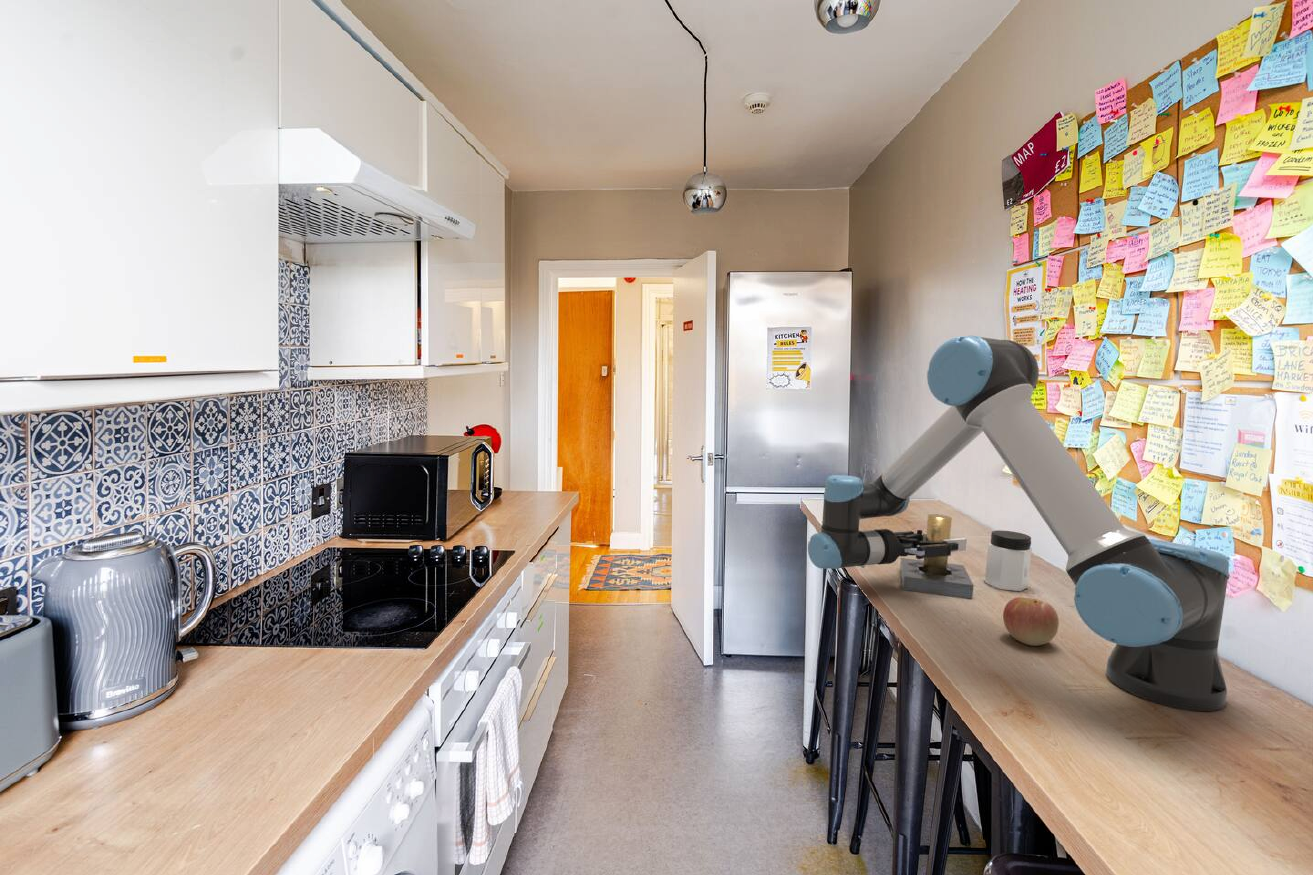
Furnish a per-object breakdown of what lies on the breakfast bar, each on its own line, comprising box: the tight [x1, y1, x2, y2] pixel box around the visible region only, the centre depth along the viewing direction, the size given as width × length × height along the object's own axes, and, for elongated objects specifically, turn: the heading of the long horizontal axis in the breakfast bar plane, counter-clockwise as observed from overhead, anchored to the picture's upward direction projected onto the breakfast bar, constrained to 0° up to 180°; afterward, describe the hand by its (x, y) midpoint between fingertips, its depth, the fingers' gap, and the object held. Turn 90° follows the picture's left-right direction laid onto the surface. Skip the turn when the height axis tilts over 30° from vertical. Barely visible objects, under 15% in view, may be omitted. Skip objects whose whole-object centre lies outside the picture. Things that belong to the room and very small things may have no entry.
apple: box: [1002, 596, 1060, 647], centre depth 123 cm, size 9×9×8 cm
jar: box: [984, 529, 1032, 592], centre depth 156 cm, size 9×8×12 cm
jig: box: [899, 557, 975, 600], centre depth 155 cm, size 16×14×3 cm
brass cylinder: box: [923, 513, 953, 576], centre depth 155 cm, size 5×5×14 cm
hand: (954, 541), depth 157 cm, fingers closed on brass cylinder, 5 cm apart
